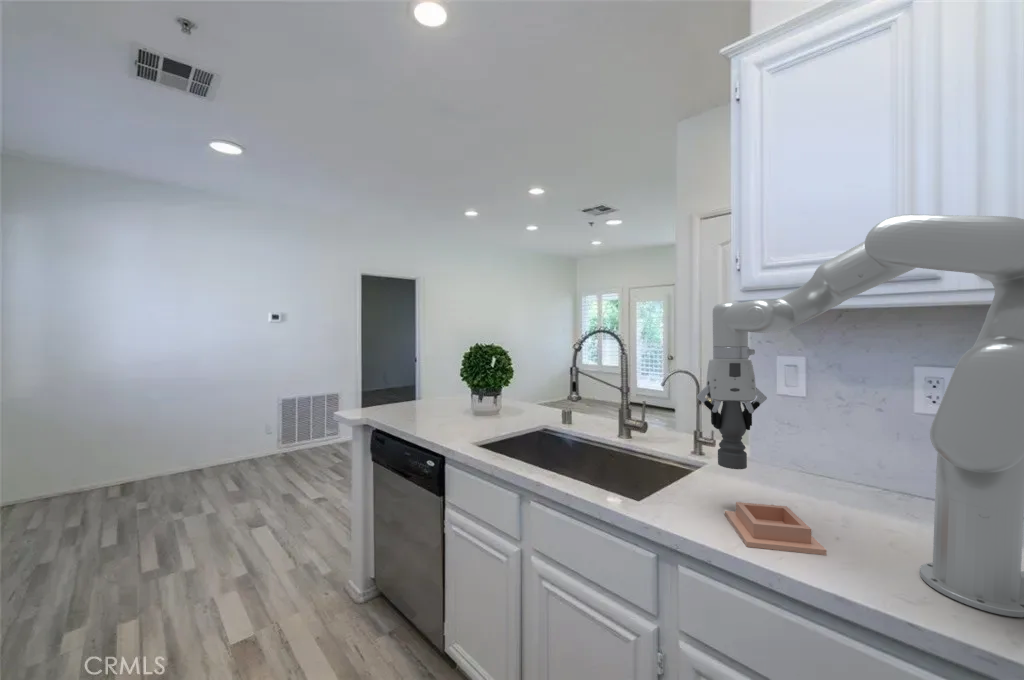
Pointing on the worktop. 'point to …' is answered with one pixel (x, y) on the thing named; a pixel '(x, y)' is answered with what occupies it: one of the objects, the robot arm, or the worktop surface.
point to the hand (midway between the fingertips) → (731, 427)
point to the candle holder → (732, 429)
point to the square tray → (773, 528)
